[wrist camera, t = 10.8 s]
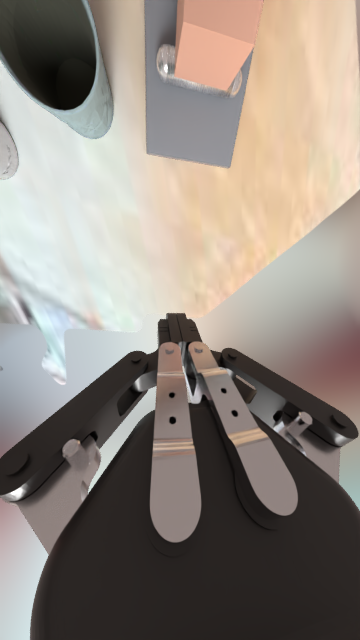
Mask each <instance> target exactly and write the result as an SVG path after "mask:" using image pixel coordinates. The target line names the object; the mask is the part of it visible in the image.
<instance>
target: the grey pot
mask: <svg viewBox="0 0 360 640" xmlns="http://www.w3.org/2000/svg"><path fill="white" fill-rule="evenodd" d="M0 60H1V62H2V64H3V65H4V67H5V68H6V70H7V71H8V73H9V74H10V76H11V77H12V78H13V80H14V81H15V82H16V83H17V85H18V86H19V87H20V88H21V89H22V90H23V91H24V92H25V93H26V94H27V95H28V96H29V97H30V98H31V99H32V100H33V101H34V102H36V103H37V104H38V105H40V106H41V107H43V108H44V109H46V110H47V111H49V112H50V113H51V114H53V115H54V116H56V117H57V118H58V119H60V120H61V121H63V122H65V123H67V124H68V125H69V126H70V127H71V128H72V129H73V130H75V131H76V132H77V133H79V134H80V135H82V136H84V137H86V138H90V139H97V138H100V137H102V136H104V135H105V134H106V133H107V132H108V130H109V129H110V127H111V123H112V119H113V100H112V95H111V91H110V87H109V83H108V78H107V75H106V70H105V67H104V64H103V58H102V54H101V50H100V45H99V41H98V36H97V31H96V27H95V23H94V19H93V15H92V12H91V9H90V6H89V3H88V0H0Z"/></svg>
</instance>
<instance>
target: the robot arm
mask: <svg viewBox="0 0 360 640" xmlns="http://www.w3.org/2000/svg"><path fill="white" fill-rule="evenodd" d="M17 167H18V155H17V150H16V147H15V144H14V142H13V140H12V138H11V136H10V134H9V132H8V131H7V129H6V128H5V126H4V125H3V124H2V123H1V121H0V180H5V179H8V178H10V177H12V176H13V175H14V174H15V172H16V170H17ZM182 366H184V368H185V371H184V373H183V370H182ZM236 375H238V376H240V377H241V378H243V379H244V380H246V381H247V382H248V383H250V384H251V385H253V386H254V387H255V388H256V390H254V389H252V388H251V387H249V386H248V385H246V384H245V383H243V382H242V381H241V380H239V379H238V378H236ZM186 384H187V388H188V391H189V395H190V398H191V403H188V397H187V388H186ZM155 386H157V389H156V407H155V410H153V411H151V412H150V413H148V414H147V415H146V416H144V417H143V418H142V419H141V420H140V421H139V422H138V424H137V425H136V426H135V428H134V429H133V431H132V432H131V434H130V435H129V436H128V438H127V439H126V441H125V442H124V444H123V445H122V446H121V448H120V449H119V451H118V452H117V454H116V455H115V457H114V458H113V460H112V461H111V462H110V464H109V465H108V467H107V468H106V469H105V471H104V472H103V474H102V475H101V477H100V478H99V479H98V481H97V482H96V484H95V485H94V487H93V488H92V489H91V491H90V492H89V494H88V489H89V486H90V483H91V481H92V479H93V477H94V475H95V474H96V471H97V470H98V468H99V465H100V462H101V454H100V450H99V449H100V448H101V447H102V446H103V444H104V443H105V442H106V441H107V439H108V438H109V437H110V436H111V435H112V433H113V432H114V431H115V430H116V429H117V428H118V426H119V425H120V424H121V422H123V420H124V419H125V418H126V417H127V416H128V414H129V413H130V412H131V411H132V410H133V408H134V407H135V406H136V405H137V404H138V402H139V401H140V400H141V399H142V397H143V396H144V395H145V394H146V393H147V391H148V389H150V388H152V387H155ZM357 437H358V430H357V428H356V426H355V424H354V423H353V422H352V421H351V420H350V419H349V418H348V417H347V416H346V415H345V414H343V413H342V412H341V411H339V410H337V409H336V408H334V407H332V406H330V405H328V404H327V403H325V402H324V401H322V400H320V399H318V398H317V397H315V396H313V395H312V394H310V393H308V392H307V391H305V390H303V389H302V388H300V387H298V386H297V385H295V384H293V383H291V382H290V381H288V380H286V379H285V378H283V377H281V376H280V375H278V374H276V373H275V372H273V371H271V370H269V369H268V368H266V367H264V366H263V365H261V364H259V363H258V362H256V361H254V360H252V359H251V358H249V357H247V356H246V355H244V354H242V353H240V352H239V351H237V350H235V349H232V348H225V349H223V351H222V353H221V352H216V351H212V350H210V349H209V347H208V346H207V345H206V344H204V343H203V342H202V340H201V337H200V335H199V332H198V329H197V327H196V324H195V322H193V321H192V320H191V319H187V318H186V315H185V313H167V314H166V319H160V321H159V322H158V349H157V350H156V351H155V352H153V353H151V354H146V353H144V352H142V351H133V352H130V353H128V354H127V355H126V356H125V357H124V358H122V359H121V360H120V361H119V362H117V363H116V364H115V365H114V366H112V367H111V368H110V369H109V370H108V371H106V372H105V373H104V374H102V375H101V376H100V377H99V378H98V379H96V380H95V381H94V382H93V383H91V384H90V385H89V386H88V387H86V388H85V389H84V390H83V391H81V392H80V393H79V394H78V395H76V396H75V397H74V398H73V399H72V400H70V401H69V402H68V403H67V404H65V405H64V406H63V407H62V408H61V409H59V410H58V411H57V412H55V413H54V414H53V415H52V416H51V417H49V418H48V419H47V420H46V421H44V422H43V423H42V424H41V425H40V426H38V427H37V428H36V429H35V430H33V431H32V432H31V433H30V434H28V435H27V436H26V437H25V438H23V439H22V440H21V441H20V442H18V443H17V444H16V445H15V446H14V447H12V448H11V449H10V450H9V451H7V452H6V453H5V454H4V455H3V456H2V457H1V458H0V498H2V499H3V500H4V501H5V502H7V503H9V504H12V505H14V506H16V507H19V508H20V510H21V512H22V513H23V515H24V516H25V518H26V519H27V521H28V522H29V524H30V526H31V527H32V529H33V531H34V532H35V534H36V535H37V537H38V538H39V540H40V542H41V543H42V545H43V546H44V548H45V549H46V551H47V553H48V554H49V556H48V559H47V561H46V563H45V566H44V568H43V571H42V574H41V577H40V580H39V584H38V587H37V591H36V594H35V599H34V603H33V609H32V616H31V627H30V640H360V511H359V509H358V507H357V506H356V505H355V503H354V501H352V499H351V497H350V496H349V495H348V494H347V492H346V491H345V490H344V489H343V488H342V487H341V486H340V485H339V462H340V448H341V447H342V446H344V445H345V444H347V443H349V442H350V441H352V440H354V439H355V438H357Z"/></svg>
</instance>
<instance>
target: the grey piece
mask: <svg viewBox="0 0 360 640" xmlns="http://www.w3.org/2000/svg"><path fill="white" fill-rule="evenodd" d="M177 2H178V0H145V48H146V121H147V154H149V155H155V156H161V157H166V158H172V159H178V160H183V161H189V162H195V163H201V164H206V165H212V166H218V167H224V168H230V165H231V160H232V155H233V150H234V145H235V140H236V135H237V130H238V125H239V120H240V115H241V109H242V104H243V99H244V94H245V89H246V84H247V79H248V74H249V69H250V64H251V59H252V54H253V49H254V47H253V49H252V51H251V52H250V54H249V55H248V57H247V59H246V60H245V62H244V64H243V65H242V67H241V68H240V69H241V72H242V82H241V87H240V89H239V91H238V93H237V94H236V96H235V97H234V98H232V99H226V98H222V97H218V96H214V95H210V94H206V93H202V92H198V91H194V90H190V89H186V88H183V87H179V86H175V85H171V84H167V83H164V82H163V81H162V80H161V79H160V77H159V75H158V72H157V66H156V58H157V53H158V50H159V48H160V47H161V46H162V45H163V44H169V45H173V46H176V24H177Z"/></svg>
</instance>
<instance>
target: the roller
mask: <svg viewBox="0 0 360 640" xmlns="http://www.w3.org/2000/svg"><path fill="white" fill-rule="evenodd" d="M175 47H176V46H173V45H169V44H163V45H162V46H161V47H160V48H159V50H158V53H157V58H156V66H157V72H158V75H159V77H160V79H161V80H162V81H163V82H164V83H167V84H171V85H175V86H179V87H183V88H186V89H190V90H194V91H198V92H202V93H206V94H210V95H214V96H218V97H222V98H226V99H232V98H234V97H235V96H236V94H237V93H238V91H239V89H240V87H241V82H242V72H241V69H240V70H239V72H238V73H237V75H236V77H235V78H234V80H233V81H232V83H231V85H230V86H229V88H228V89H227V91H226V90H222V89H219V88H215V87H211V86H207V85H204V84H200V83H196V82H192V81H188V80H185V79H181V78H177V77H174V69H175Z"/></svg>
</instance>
